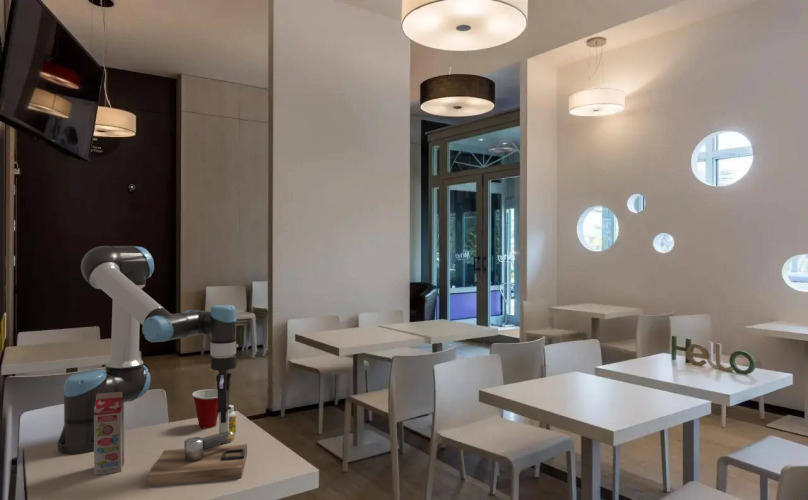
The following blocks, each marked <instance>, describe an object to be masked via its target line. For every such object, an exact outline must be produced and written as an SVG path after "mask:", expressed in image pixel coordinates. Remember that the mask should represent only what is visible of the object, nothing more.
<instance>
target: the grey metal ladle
mask: <svg viewBox="0 0 808 500" xmlns="http://www.w3.org/2000/svg"><path fill="white" fill-rule="evenodd" d="M235 438H236V434H235V435H234V433H233V432H231V431H226V432H223V433H219V432H218V433H216V434H213V435H212V434H211V435H208V436H205V437H201V436H200V437H198V436H193V437H189V438H186V439H185V440H184V446H183V447H184V448H183V449H184V452H185V460H187V461H195V460H199V459H201V458H203V450H207V449H211V448H214V447H218V446H225V445H227V444H231V443H232V442H234V439H235Z"/></svg>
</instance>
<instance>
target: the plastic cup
mask: <svg viewBox="0 0 808 500" xmlns="http://www.w3.org/2000/svg"><path fill="white" fill-rule="evenodd" d="M192 397H193V401H194V406H195V411H196V417H197V422H198V426H199V428H201V429H208V428H209V429H210V428H213V427H216V426H217V423H218V419H219V412H216V411H217V410H218V391H217V389H198V390H196V391H193V392H192Z"/></svg>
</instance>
